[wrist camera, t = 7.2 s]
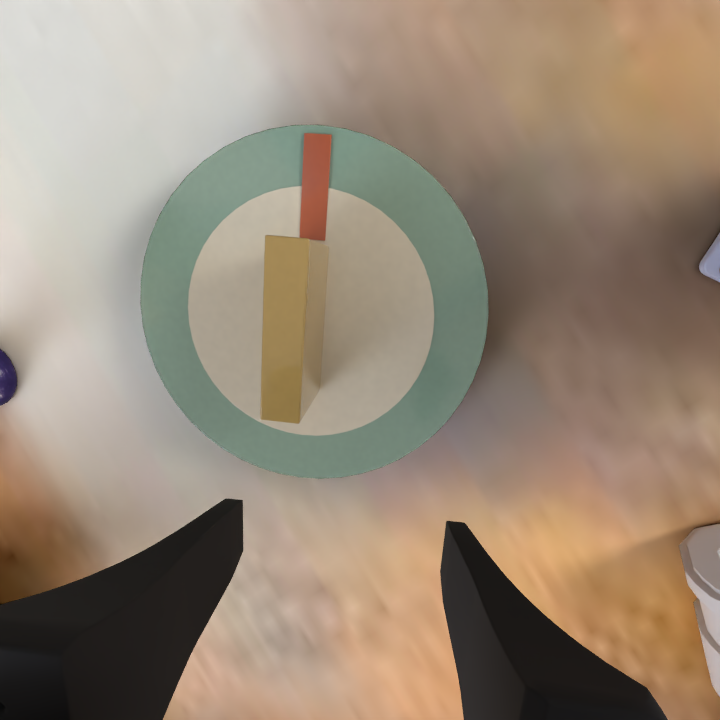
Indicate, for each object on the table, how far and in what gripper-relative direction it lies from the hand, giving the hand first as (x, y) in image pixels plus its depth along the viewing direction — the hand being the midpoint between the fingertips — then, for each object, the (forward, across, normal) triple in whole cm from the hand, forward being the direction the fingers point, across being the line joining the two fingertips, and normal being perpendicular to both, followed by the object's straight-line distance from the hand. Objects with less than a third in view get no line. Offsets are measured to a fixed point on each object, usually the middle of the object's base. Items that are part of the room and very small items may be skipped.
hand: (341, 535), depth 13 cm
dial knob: (+8, +3, -6) cm, 10 cm away
